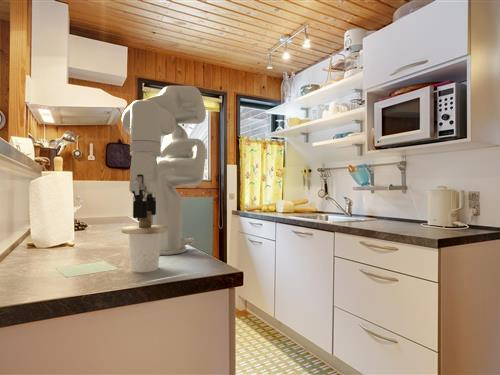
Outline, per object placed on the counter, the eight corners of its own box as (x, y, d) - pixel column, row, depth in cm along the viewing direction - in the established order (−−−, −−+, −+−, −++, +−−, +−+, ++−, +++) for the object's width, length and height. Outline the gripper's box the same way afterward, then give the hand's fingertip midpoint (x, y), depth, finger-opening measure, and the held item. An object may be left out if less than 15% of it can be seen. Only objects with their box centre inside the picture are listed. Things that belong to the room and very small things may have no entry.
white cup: (143, 275, 75) (143, 234, 75) (121, 271, 79) (121, 232, 79) (167, 268, 82) (167, 230, 82) (145, 265, 86) (146, 228, 86)
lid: (155, 227, 88) (155, 210, 88) (175, 231, 80) (175, 211, 80) (115, 231, 81) (115, 211, 81) (132, 235, 73) (132, 213, 73)
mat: (104, 262, 89) (104, 261, 89) (119, 270, 80) (119, 268, 80) (55, 269, 81) (55, 267, 81) (65, 279, 72) (65, 277, 72)
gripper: (139, 153, 89) (139, 214, 89) (119, 144, 72) (118, 219, 72) (166, 154, 90) (166, 214, 89) (152, 145, 72) (152, 219, 72)
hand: (145, 216), depth 80 cm, fingers open, 9 cm apart
